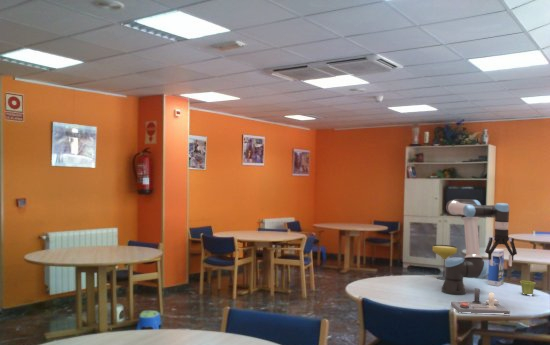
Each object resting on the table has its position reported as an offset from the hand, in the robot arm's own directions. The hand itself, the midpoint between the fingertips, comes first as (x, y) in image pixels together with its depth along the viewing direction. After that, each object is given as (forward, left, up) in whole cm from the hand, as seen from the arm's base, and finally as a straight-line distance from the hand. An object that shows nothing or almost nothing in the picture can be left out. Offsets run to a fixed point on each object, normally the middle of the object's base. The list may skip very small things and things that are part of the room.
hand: (500, 265), depth 285 cm
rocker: (-3, -4, -22) cm, 22 cm away
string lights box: (-19, +72, -26) cm, 79 cm away
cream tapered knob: (-1, -14, -23) cm, 27 cm away
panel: (-8, -13, -26) cm, 30 cm away
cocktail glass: (-54, +62, -26) cm, 86 cm away
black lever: (-11, -9, -23) cm, 27 cm away
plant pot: (+6, +52, -26) cm, 58 cm away
